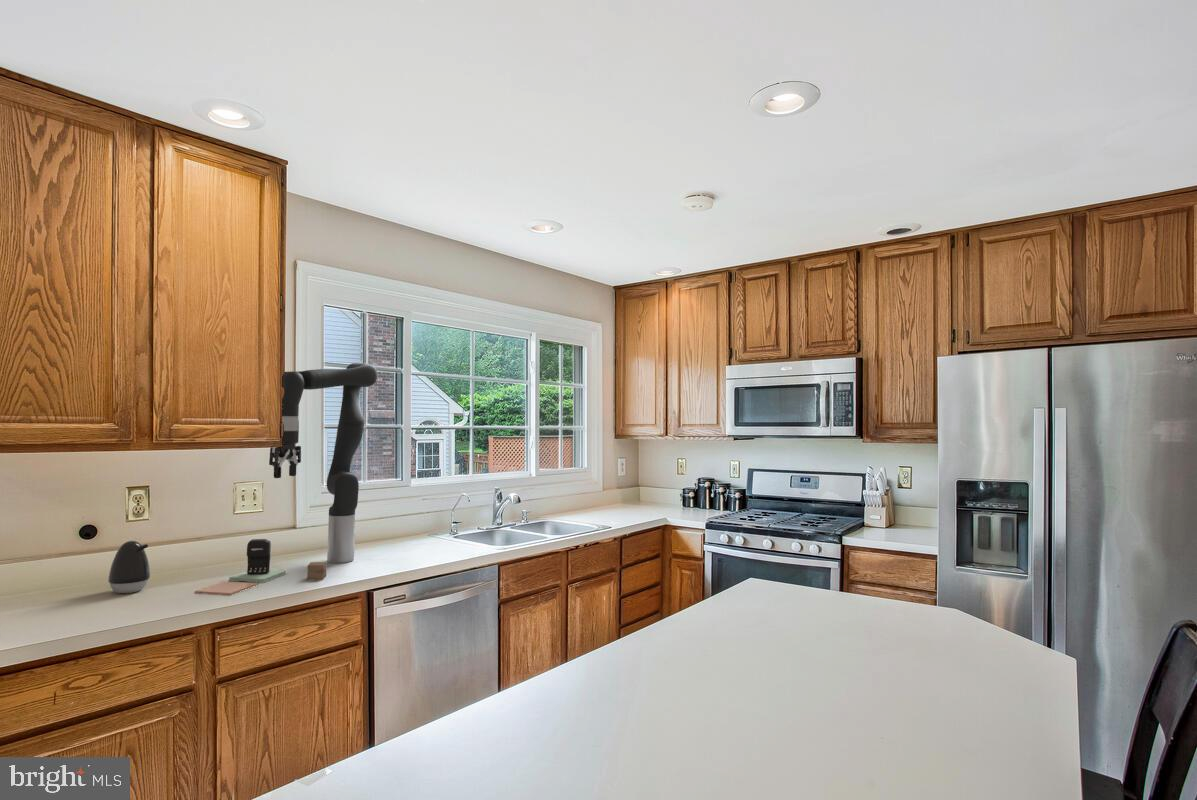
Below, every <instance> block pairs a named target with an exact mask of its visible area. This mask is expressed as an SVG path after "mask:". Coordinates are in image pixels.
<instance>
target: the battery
mask: <svg viewBox="0 0 1197 800" xmlns="http://www.w3.org/2000/svg"><path fill="white" fill-rule="evenodd" d="M246 545H247V546H246V557H247V569H246V570H247V574H266V573H269V572H270V570H271V557H272V542H271V540H270V539H269V538H253V539H251V540H249V541H248V543H247V544H246Z"/></svg>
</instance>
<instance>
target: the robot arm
mask: <svg viewBox="0 0 1197 800" xmlns="http://www.w3.org/2000/svg"><path fill="white" fill-rule="evenodd" d="M283 372H284V374H283V376H282V387H283V388H284V392H283V396H282V398H281V399H282V404H283V405H282V408H283V409H282V422H283V424H284V434H283V437H282V445H283V446H282V447H277V446H272V447H270V448H269V460H268V461H269V463H268V465H269V466H272V467H273V479H281V478H282V465H283V463H284V462H285V461H287V462H288V464H289V466H288V468H289V469H288V470H289V471H288V475H289V477H295V476H296V475H297V466H298V464H300V463H302V446H300V445H296V444H298V443H299V433H300V420H299V418H300V417H299V411H300V407H299V406H300V403H301V400H302V396H303V392H304V390H307V391H308V390H311V391H312V390H322V389H328V388H336V387H342V399H341V406H340V412H339V419H338V423H337V430H336V436H335V443H334V450H333V455H332V461H331V464H330V468H329V471H328V475H327V478H326V489H327V491H328V492H329V494H331V495H333V503H332V505H331V506H330V507H329V509H328V525H327V526H328V527H327V551H326V552H327V555H326V557H327V558H326V562H327V563H329V564H331V563H333V564H340V563H341V564H342V563H349V562H352V561H353V562H354V559H355V541H356V537H355V536H356V535H355V528H356V527H355V526H356V525H355V524H356V523H355V522H356V509H357V507H358V501H359V489H360V487H359V485H360V484H359V479H358V477H357V476H356V475H355V474H354V473H351V465H352V461H353V457H354V456H355V453H356V451H357V449H358V447H359V446H360V444H361V441H362V440H363V439H362V438H363V434H364V428H365V418H364V415H363V410H362V408H361V404H360V394H361V393H360V392H361V389H362V388H367V387H371V386H373V385H374V384H376V382H377V380H378V377H379V376H378V375H379V374H378V370H377V368H376V367H375V366H374V365H372V364H370V363H368V362H367V363H364V362H362V363H361V362H360V363H359V362H357V363H356V362H355V363H350V364H348V366H346V368H319V369H318V368H317V369H309V370H303V371H302V370H301V371H295V370H294V371H293V370H292V371H283ZM283 443H284V444H283Z"/></svg>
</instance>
